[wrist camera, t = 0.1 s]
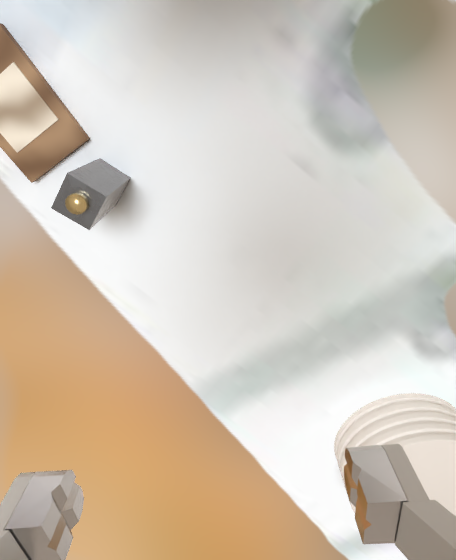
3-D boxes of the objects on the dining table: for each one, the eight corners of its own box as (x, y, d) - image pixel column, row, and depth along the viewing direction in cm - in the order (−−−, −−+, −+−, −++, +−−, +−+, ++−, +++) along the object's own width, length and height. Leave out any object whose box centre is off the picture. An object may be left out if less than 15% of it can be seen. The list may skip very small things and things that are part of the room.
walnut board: (-54, 78, 48) (-62, 77, 47) (3, 24, 45) (-4, 22, 44) (35, 180, 54) (30, 182, 53) (90, 138, 51) (86, 139, 50)
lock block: (100, 158, 53) (63, 174, 41) (130, 177, 54) (103, 198, 42) (86, 186, 54) (47, 210, 43) (115, 205, 56) (86, 232, 44)
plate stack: (316, 419, 77) (329, 469, 66) (449, 374, 71) (486, 420, 61) (355, 493, 88) (372, 545, 78) (473, 459, 82) (508, 510, 72)
